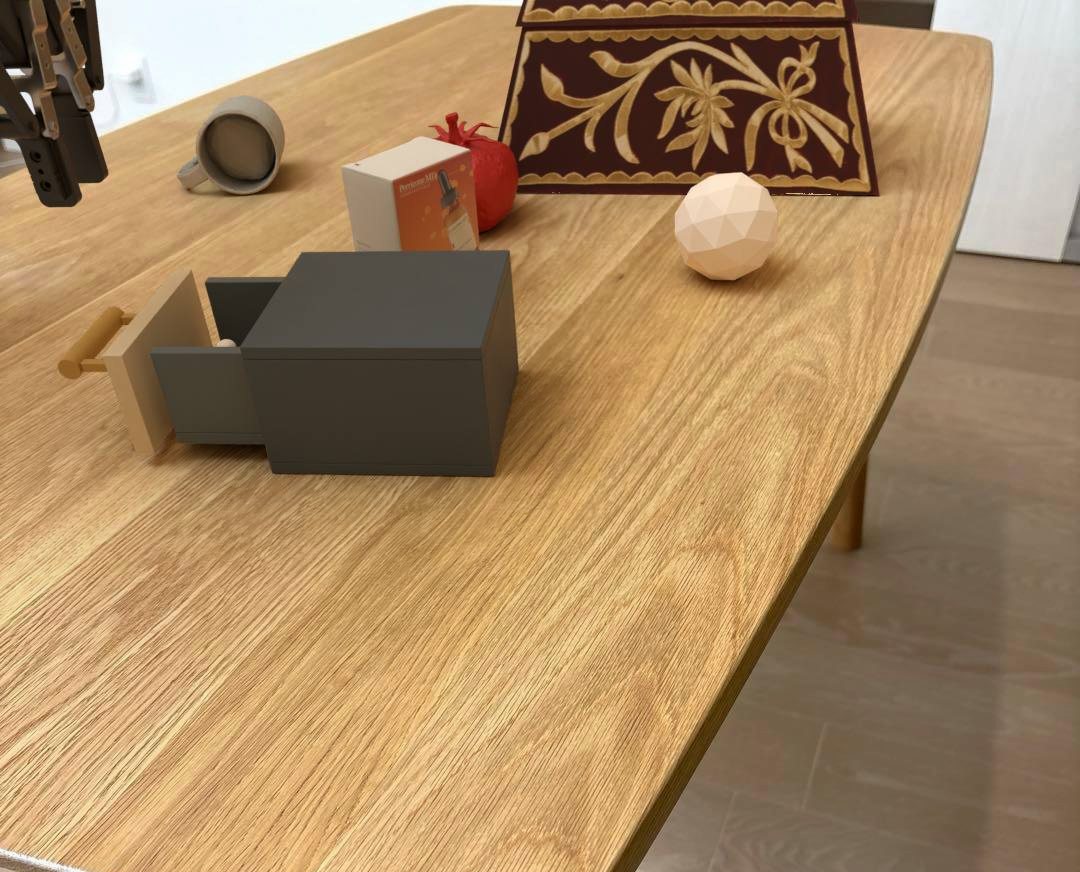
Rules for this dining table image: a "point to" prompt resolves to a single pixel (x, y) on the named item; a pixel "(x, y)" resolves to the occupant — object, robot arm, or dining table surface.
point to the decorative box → (688, 97)
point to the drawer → (180, 361)
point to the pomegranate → (485, 170)
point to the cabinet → (386, 363)
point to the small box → (413, 198)
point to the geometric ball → (726, 226)
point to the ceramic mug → (237, 147)
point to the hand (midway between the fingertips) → (76, 191)
